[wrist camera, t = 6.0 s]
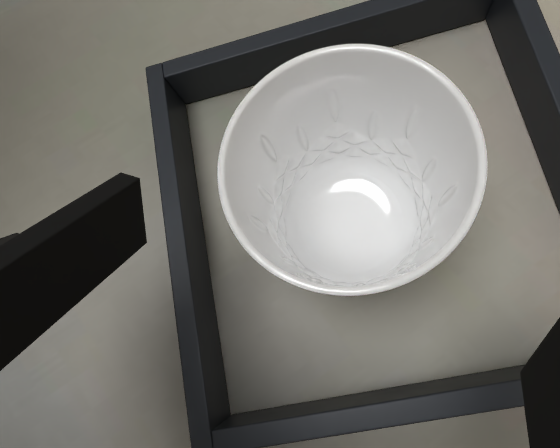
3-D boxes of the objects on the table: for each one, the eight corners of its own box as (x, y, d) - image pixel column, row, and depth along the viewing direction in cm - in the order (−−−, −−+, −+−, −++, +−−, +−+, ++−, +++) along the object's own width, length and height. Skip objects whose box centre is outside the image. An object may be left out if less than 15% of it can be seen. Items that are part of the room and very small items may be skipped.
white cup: (329, 335, 21) (303, 351, 11) (251, 211, 23) (174, 135, 13) (460, 250, 20) (553, 191, 11) (369, 133, 23) (378, -3, 13)
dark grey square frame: (168, 95, 26) (144, 67, 23) (498, 0, 23) (518, -46, 20) (215, 438, 20) (191, 458, 18) (644, 369, 18) (699, 379, 15)
